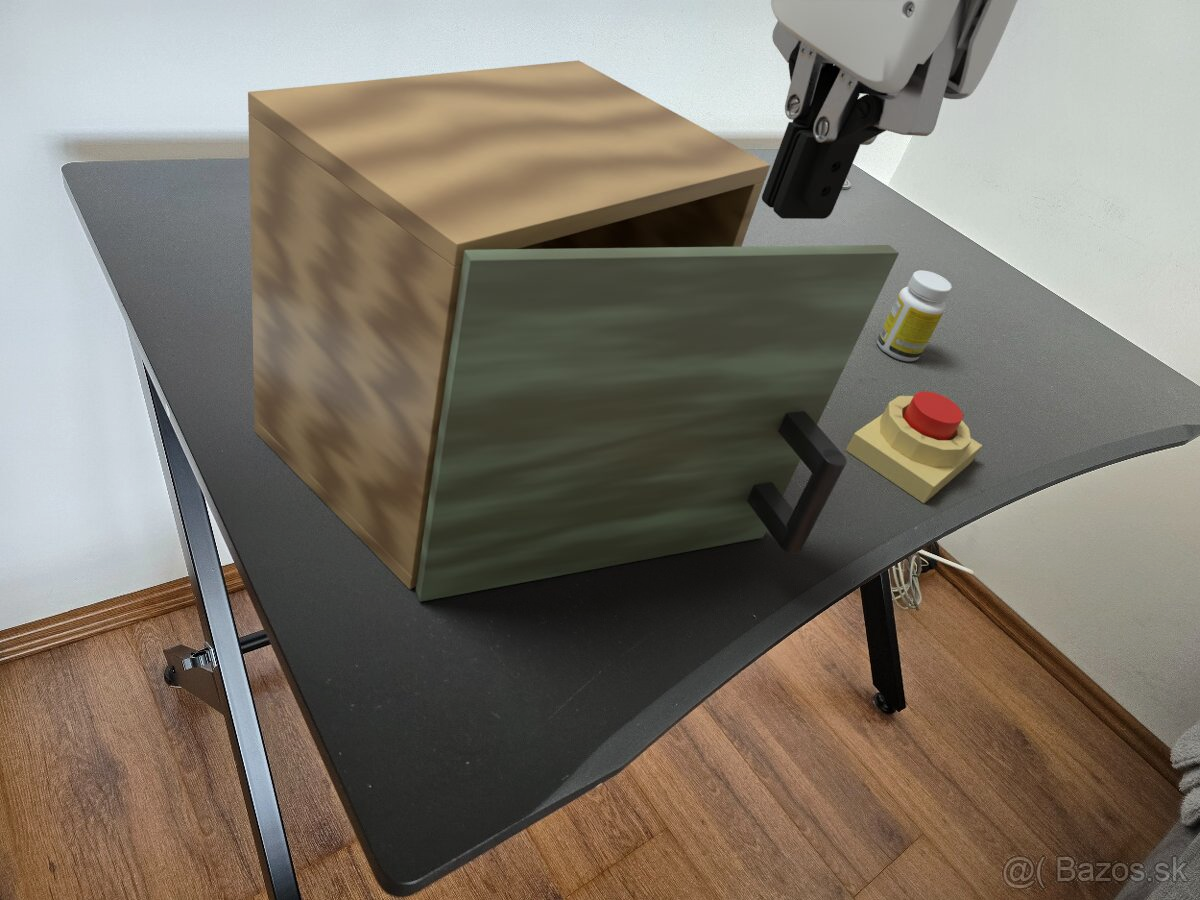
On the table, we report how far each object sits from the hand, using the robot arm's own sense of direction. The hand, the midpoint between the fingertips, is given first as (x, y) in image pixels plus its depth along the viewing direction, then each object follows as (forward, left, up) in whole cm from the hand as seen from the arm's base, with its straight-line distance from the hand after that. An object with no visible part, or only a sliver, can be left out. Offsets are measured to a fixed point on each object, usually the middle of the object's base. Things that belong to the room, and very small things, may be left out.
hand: (794, 209), depth 44 cm
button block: (-4, -32, -28) cm, 43 cm away
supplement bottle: (+6, -48, -29) cm, 56 cm away
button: (-4, -32, -25) cm, 41 cm away
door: (+1, +2, -28) cm, 28 cm away
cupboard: (+18, 0, -28) cm, 34 cm away
